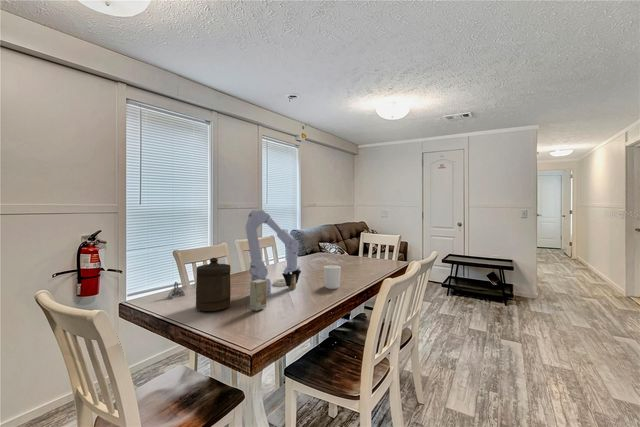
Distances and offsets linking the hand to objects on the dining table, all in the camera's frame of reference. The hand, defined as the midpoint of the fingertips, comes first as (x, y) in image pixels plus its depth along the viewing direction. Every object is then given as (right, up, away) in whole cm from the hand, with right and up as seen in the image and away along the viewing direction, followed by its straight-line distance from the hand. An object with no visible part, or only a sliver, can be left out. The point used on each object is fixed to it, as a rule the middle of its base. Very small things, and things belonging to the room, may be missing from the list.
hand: (291, 284), depth 163 cm
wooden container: (-33, -3, -29) cm, 44 cm away
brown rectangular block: (0, -3, 0) cm, 3 cm away
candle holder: (+23, -3, +4) cm, 23 cm away
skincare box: (-12, -3, -32) cm, 34 cm away
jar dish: (-7, -3, +10) cm, 12 cm away
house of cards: (-59, -3, -12) cm, 60 cm away
